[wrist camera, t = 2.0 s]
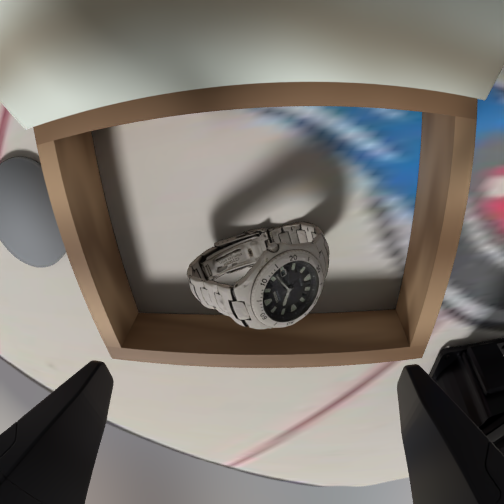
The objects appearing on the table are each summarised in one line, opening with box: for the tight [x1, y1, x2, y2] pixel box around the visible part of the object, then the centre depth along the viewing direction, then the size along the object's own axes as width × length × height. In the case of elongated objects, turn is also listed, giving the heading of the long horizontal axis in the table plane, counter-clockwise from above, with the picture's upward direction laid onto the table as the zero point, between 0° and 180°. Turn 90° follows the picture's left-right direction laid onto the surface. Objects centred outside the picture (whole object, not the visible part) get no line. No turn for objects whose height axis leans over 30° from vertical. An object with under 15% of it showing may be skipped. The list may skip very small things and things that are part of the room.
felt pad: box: [0, 157, 66, 267], centre depth 15 cm, size 7×7×1 cm
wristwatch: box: [187, 222, 329, 329], centre depth 13 cm, size 4×6×5 cm, turn 107°
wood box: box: [0, 0, 504, 368], centre depth 11 cm, size 18×17×7 cm
